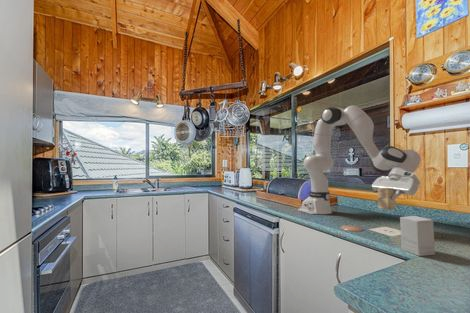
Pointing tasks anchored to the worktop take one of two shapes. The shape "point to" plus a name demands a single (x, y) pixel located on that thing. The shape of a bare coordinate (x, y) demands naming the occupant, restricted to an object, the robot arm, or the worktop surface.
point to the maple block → (386, 198)
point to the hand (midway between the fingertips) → (385, 198)
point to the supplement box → (417, 235)
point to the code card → (387, 231)
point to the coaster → (352, 228)
